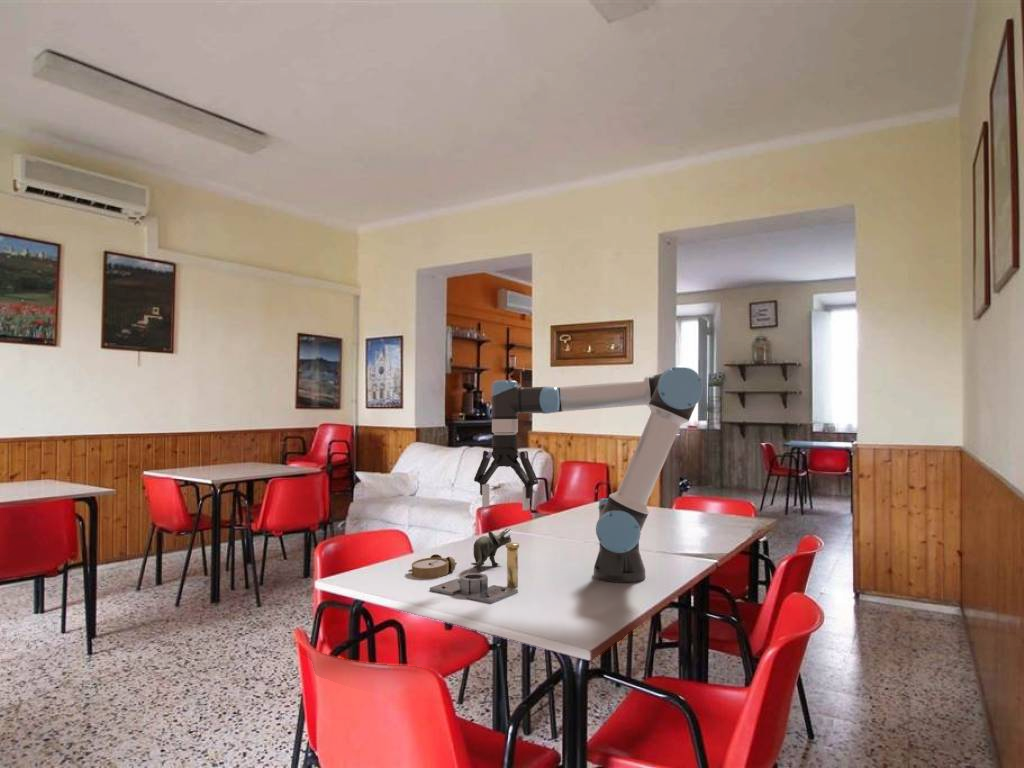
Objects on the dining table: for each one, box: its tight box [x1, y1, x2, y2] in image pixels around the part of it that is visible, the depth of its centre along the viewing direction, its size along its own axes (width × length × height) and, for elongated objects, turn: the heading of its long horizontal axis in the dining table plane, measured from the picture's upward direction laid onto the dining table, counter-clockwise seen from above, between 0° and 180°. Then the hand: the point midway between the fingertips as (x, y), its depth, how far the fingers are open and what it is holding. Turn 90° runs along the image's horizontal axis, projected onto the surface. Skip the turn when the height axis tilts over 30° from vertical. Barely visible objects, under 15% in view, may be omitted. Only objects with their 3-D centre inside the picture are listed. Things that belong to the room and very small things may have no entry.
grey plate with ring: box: [429, 572, 519, 604], centre depth 172 cm, size 12×21×4 cm, turn 55°
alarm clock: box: [407, 554, 458, 579], centre depth 193 cm, size 11×5×15 cm
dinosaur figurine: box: [470, 527, 512, 573], centre depth 199 cm, size 22×8×11 cm, turn 148°
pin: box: [505, 542, 520, 589], centre depth 177 cm, size 4×4×12 cm
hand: (505, 508), depth 181 cm, fingers open, 13 cm apart
